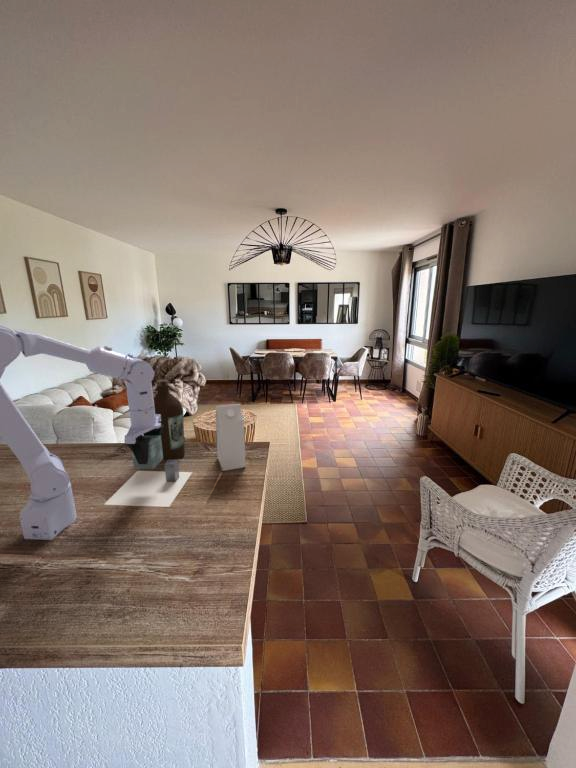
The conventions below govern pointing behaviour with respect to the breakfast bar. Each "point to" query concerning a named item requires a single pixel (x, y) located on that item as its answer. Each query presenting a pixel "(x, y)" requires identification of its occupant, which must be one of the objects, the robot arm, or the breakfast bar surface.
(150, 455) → the teal brushed cube
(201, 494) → the breakfast bar surface
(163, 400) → the olive oil
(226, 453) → the milk carton
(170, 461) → the metal post
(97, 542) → the breakfast bar surface
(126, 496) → the base board
